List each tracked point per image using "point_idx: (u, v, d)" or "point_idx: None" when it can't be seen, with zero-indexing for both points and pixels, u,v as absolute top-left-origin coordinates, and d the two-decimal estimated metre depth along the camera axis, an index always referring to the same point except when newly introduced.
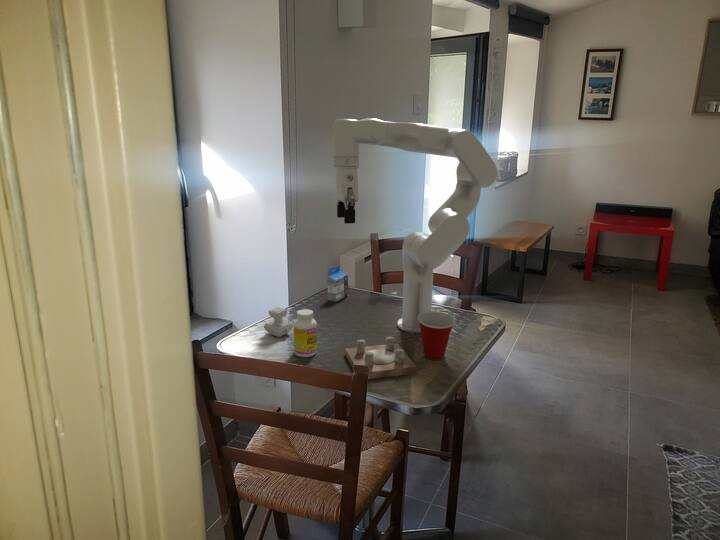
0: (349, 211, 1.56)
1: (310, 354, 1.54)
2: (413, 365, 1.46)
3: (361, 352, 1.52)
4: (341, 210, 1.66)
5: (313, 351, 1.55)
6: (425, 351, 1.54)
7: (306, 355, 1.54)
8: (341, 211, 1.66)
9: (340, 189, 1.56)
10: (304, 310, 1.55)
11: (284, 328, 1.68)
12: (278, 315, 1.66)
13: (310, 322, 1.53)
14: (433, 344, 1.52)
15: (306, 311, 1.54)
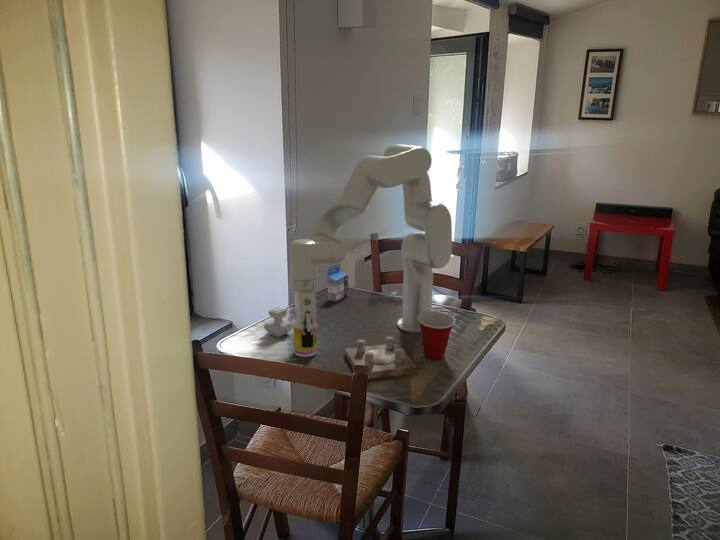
0: (306, 336, 1.51)
1: (310, 354, 1.54)
2: (413, 365, 1.46)
3: (361, 352, 1.52)
4: None
5: (313, 351, 1.55)
6: (425, 351, 1.54)
7: (306, 355, 1.54)
8: None
9: (298, 312, 1.50)
10: None
11: (284, 328, 1.68)
12: (278, 315, 1.66)
13: None
14: (433, 344, 1.52)
15: None
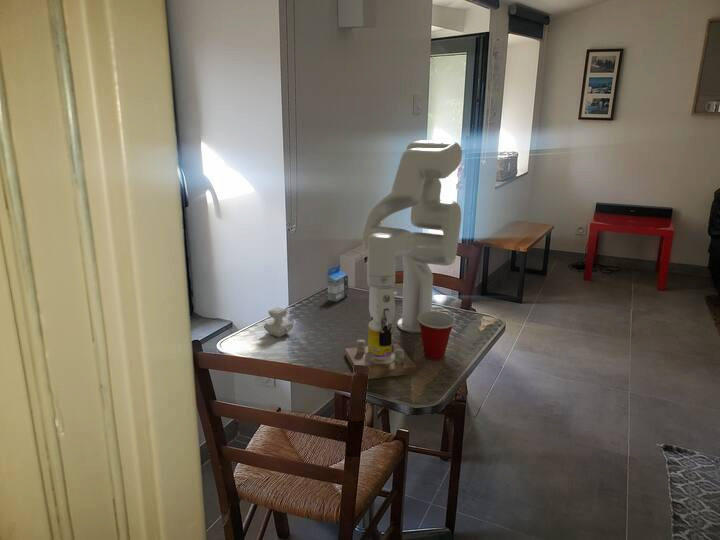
0: (385, 334, 1.43)
1: (386, 357, 1.48)
2: (413, 365, 1.46)
3: (361, 352, 1.52)
4: None
5: (389, 353, 1.48)
6: (425, 351, 1.54)
7: (382, 358, 1.47)
8: None
9: (375, 309, 1.43)
10: None
11: (284, 328, 1.68)
12: (278, 315, 1.66)
13: None
14: (433, 344, 1.52)
15: None
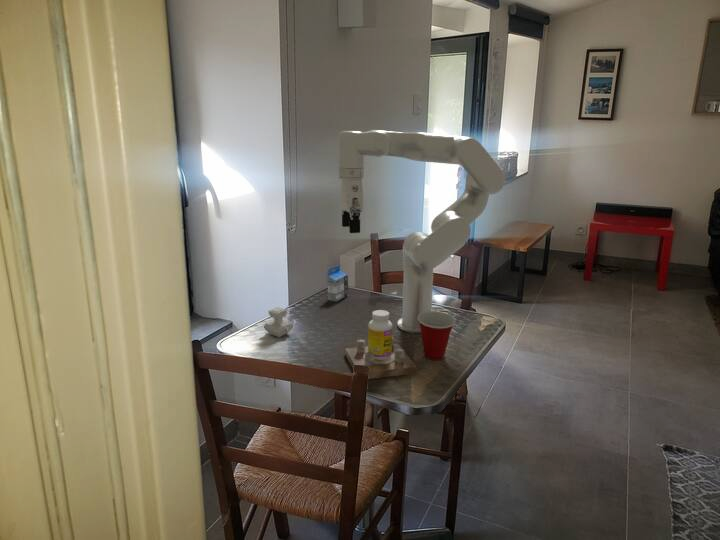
0: (354, 221, 1.59)
1: (386, 357, 1.48)
2: (413, 365, 1.46)
3: (361, 352, 1.52)
4: (346, 219, 1.69)
5: (389, 353, 1.48)
6: (425, 351, 1.54)
7: (382, 358, 1.47)
8: (346, 220, 1.69)
9: (345, 199, 1.60)
10: (380, 311, 1.48)
11: (284, 328, 1.68)
12: (278, 315, 1.66)
13: (386, 323, 1.46)
14: (433, 344, 1.52)
15: (382, 312, 1.48)
